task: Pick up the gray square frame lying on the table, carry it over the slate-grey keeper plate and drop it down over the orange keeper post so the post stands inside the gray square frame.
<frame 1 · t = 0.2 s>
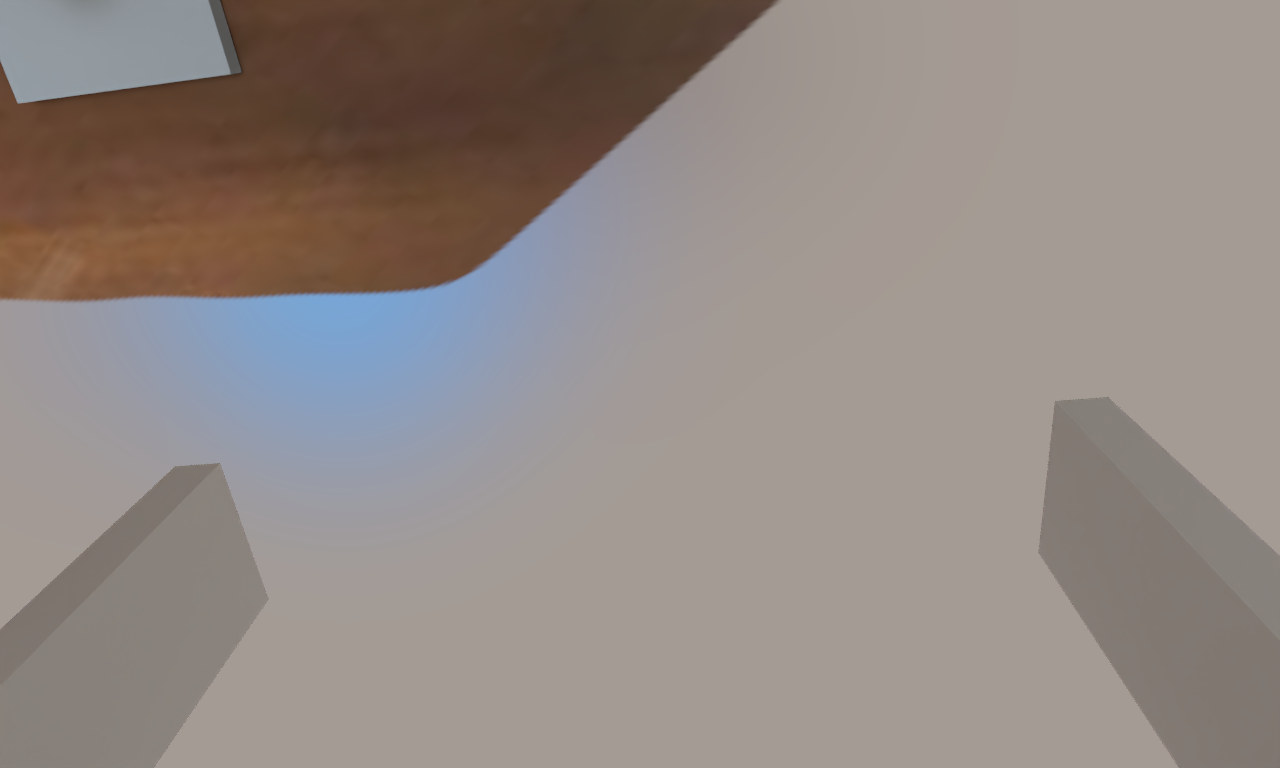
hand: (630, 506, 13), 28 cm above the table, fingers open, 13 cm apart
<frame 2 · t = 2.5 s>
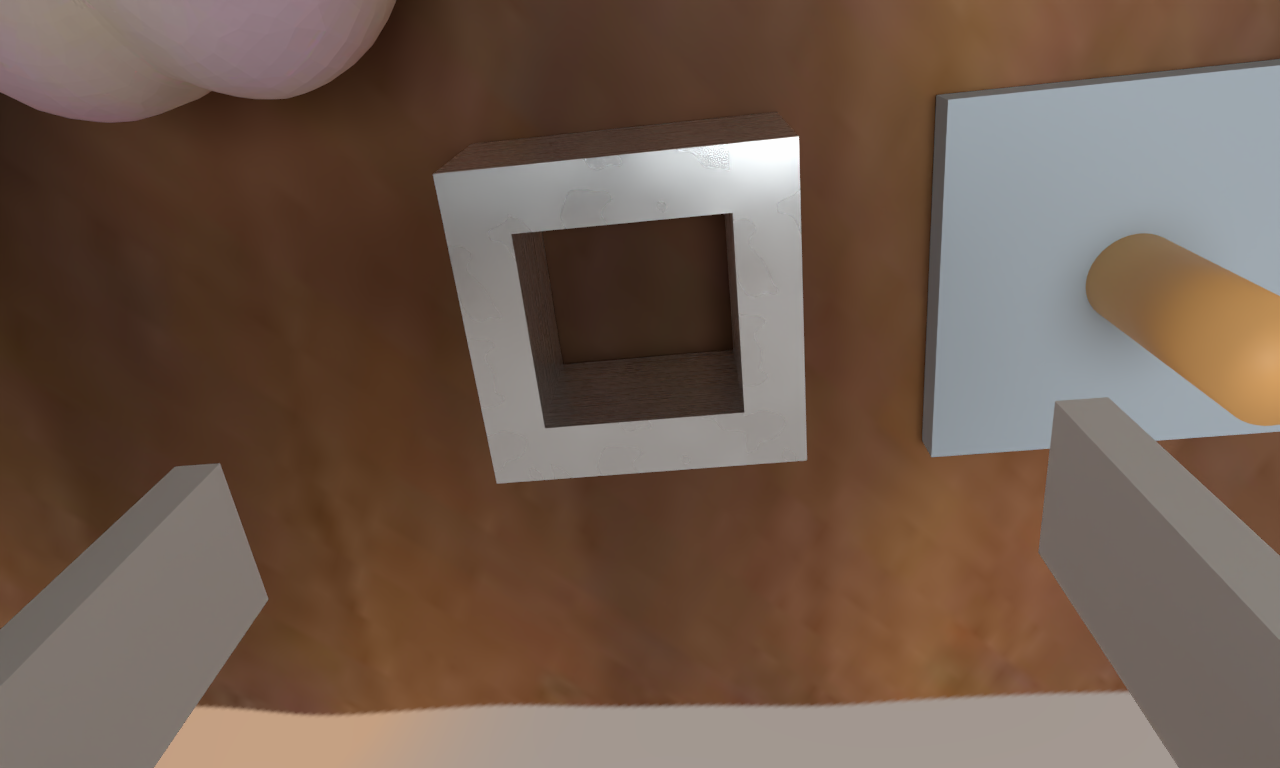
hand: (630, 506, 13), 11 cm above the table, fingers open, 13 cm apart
gray square frame: (638, 275, 24), on the table
keeper: (1114, 266, 23), on the table
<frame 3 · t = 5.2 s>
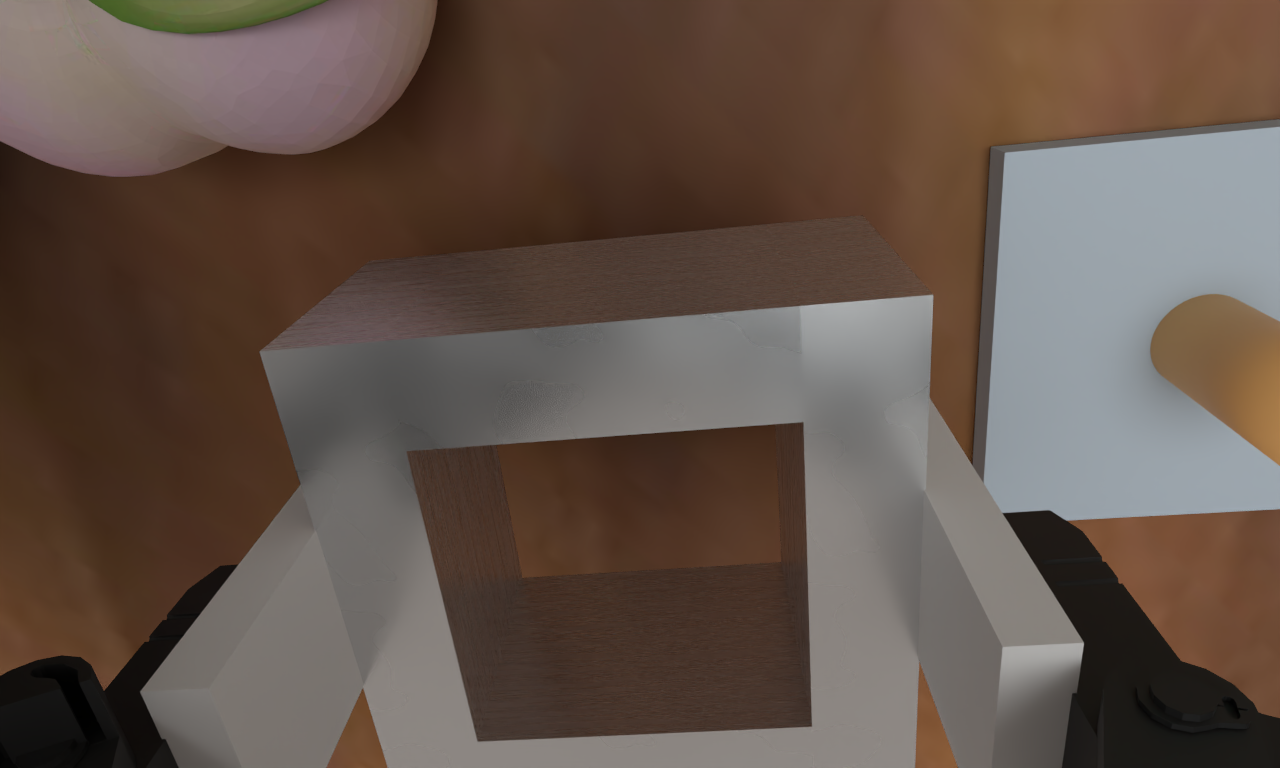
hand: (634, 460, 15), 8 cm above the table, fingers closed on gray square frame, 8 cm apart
gray square frame: (636, 456, 15), point 8 cm above the table, touching gripper
keeper: (1180, 327, 22), on the table
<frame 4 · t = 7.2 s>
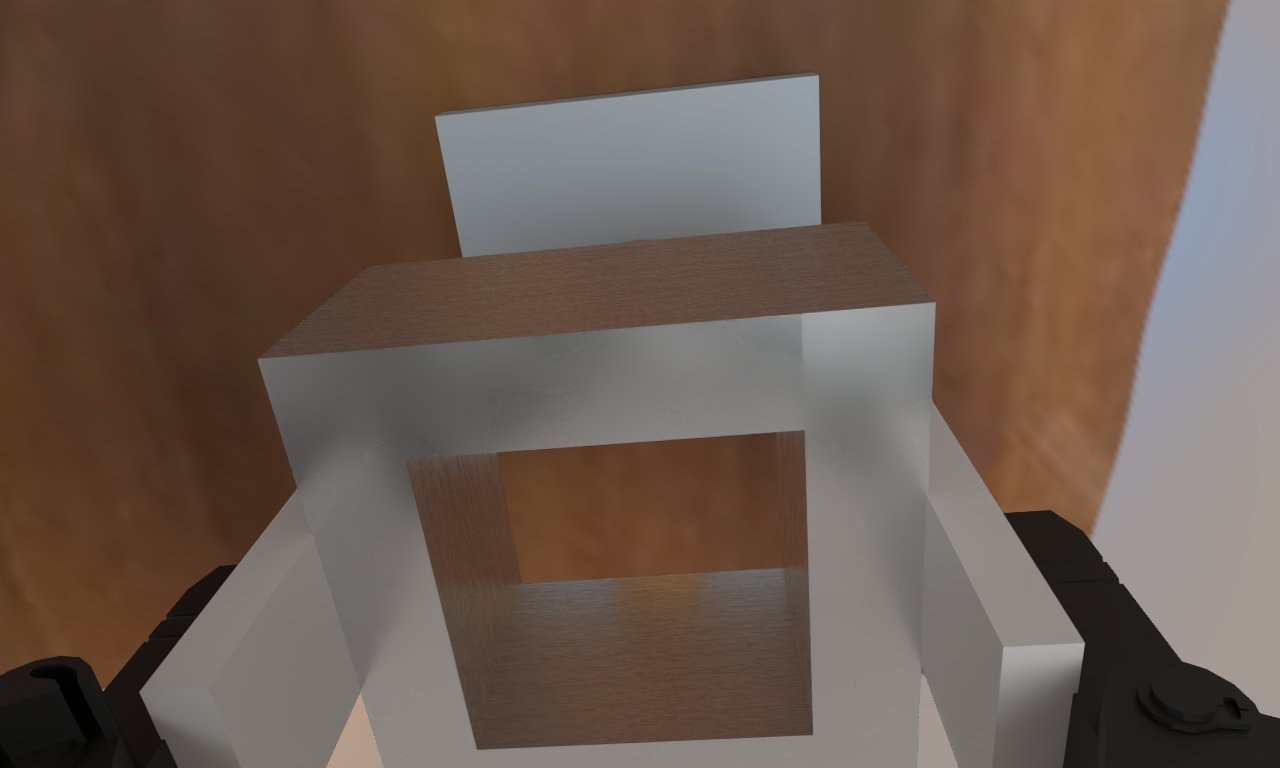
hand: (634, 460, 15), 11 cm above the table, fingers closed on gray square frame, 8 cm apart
gray square frame: (636, 461, 15), point 11 cm above the table, touching gripper
keeper: (644, 270, 25), on the table
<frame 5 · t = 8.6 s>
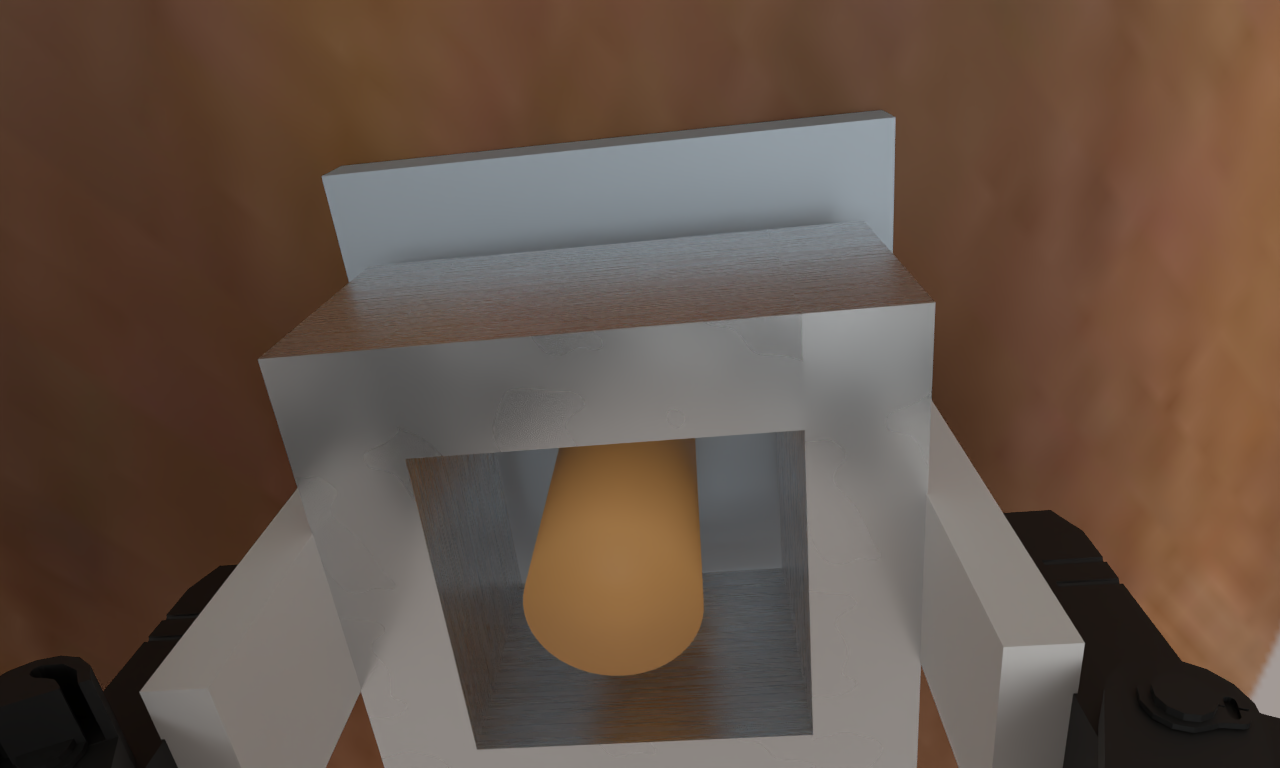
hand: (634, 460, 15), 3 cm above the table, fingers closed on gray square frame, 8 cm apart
gray square frame: (636, 461, 15), point 3 cm above the table, touching gripper
keeper: (634, 384, 17), on the table
when the fingers open (1 cm above the table, at t = 9.3 s): gray square frame stays where it is, resting on keeper.
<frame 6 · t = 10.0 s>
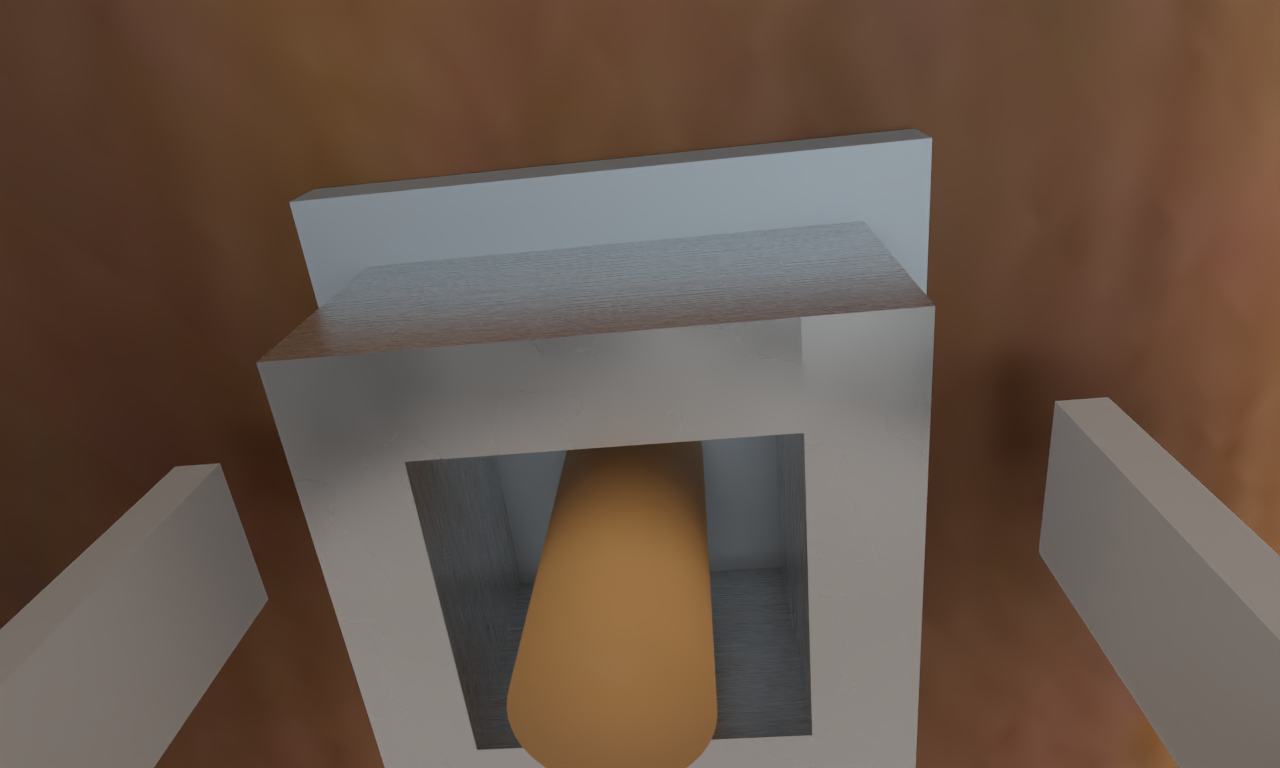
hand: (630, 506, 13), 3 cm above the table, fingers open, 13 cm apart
gray square frame: (636, 461, 15), point 1 cm above the table, touching keeper
keeper: (637, 427, 16), on the table
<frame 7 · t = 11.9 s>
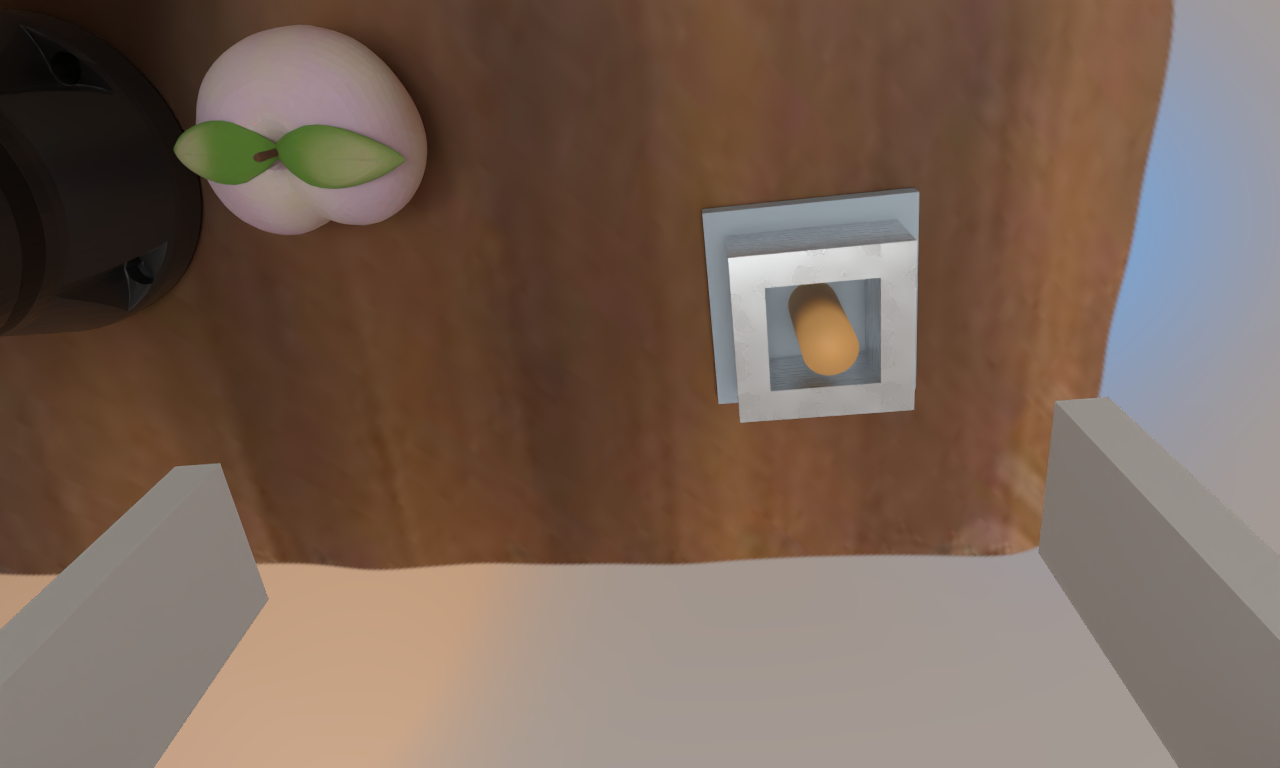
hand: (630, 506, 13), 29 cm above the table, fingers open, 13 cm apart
gray square frame: (812, 307, 41), point 1 cm above the table, touching keeper
keeper: (810, 298, 42), on the table
decorative fruit: (356, 117, 40), on the table
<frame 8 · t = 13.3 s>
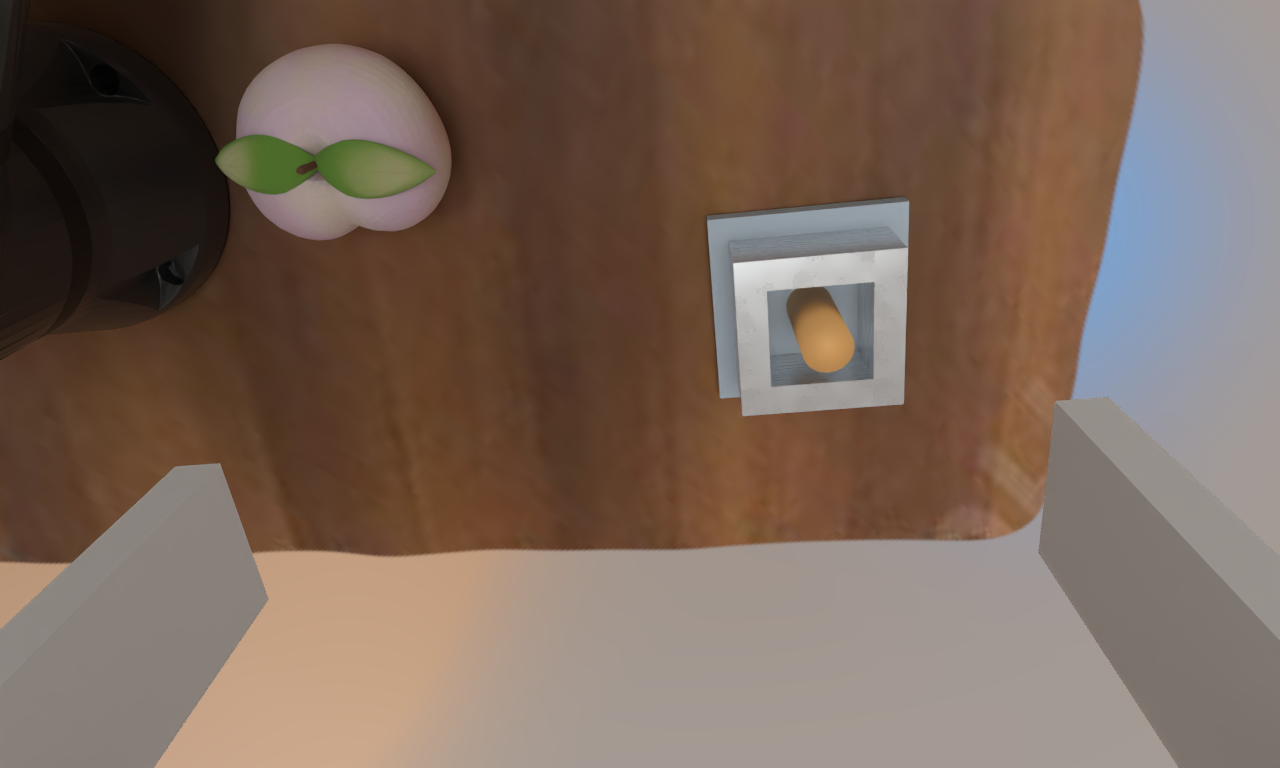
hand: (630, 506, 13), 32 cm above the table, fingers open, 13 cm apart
gray square frame: (809, 308, 44), point 1 cm above the table, touching keeper
keeper: (806, 299, 45), on the table
decorative fruit: (380, 126, 42), on the table
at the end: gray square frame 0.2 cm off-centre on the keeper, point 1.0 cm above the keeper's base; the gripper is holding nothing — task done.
